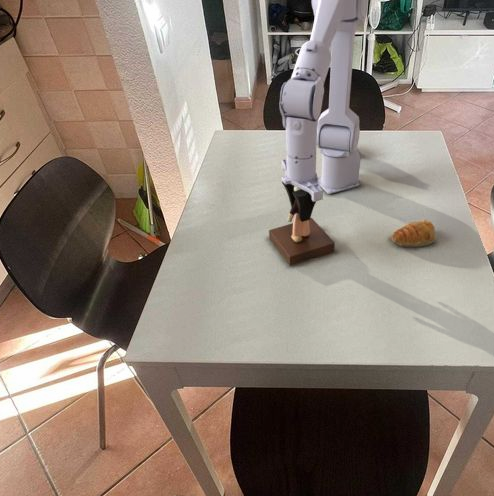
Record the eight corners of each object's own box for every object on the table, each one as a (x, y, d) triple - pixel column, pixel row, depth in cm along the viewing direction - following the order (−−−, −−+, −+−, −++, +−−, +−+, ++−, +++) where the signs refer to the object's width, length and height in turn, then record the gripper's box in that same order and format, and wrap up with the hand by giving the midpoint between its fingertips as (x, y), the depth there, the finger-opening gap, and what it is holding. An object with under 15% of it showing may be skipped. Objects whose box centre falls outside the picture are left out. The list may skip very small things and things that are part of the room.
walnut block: (311, 226, 102) (311, 217, 100) (334, 252, 95) (334, 242, 93) (269, 239, 99) (268, 230, 97) (289, 266, 92) (289, 256, 90)
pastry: (399, 252, 94) (402, 238, 92) (385, 236, 99) (388, 221, 96) (436, 244, 96) (441, 229, 93) (421, 228, 100) (425, 213, 98)
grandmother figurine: (300, 246, 92) (301, 194, 82) (285, 241, 93) (284, 188, 83) (317, 228, 96) (320, 175, 86) (302, 223, 97) (303, 170, 87)
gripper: (266, 141, 84) (270, 203, 94) (299, 174, 75) (299, 238, 86) (298, 134, 86) (298, 196, 96) (334, 165, 77) (330, 229, 88)
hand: (301, 215), depth 91 cm, fingers closed on grandmother figurine, 3 cm apart
